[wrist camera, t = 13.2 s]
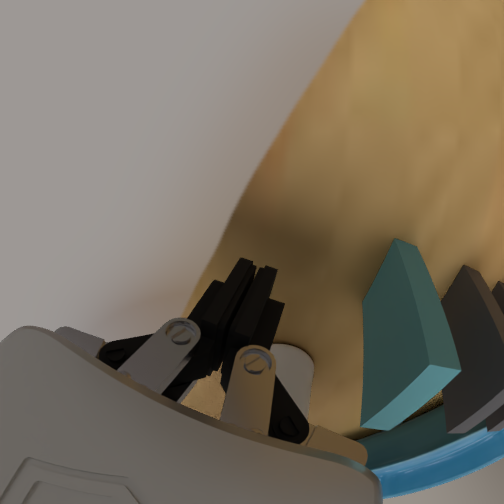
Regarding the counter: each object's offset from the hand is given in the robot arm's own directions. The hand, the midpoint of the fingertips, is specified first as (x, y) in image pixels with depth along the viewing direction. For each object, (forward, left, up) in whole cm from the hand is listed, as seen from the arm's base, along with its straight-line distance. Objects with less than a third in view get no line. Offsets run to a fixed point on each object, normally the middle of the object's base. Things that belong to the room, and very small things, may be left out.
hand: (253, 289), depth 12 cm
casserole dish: (-22, -28, -6) cm, 36 cm away
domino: (0, -13, -5) cm, 14 cm away
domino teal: (0, -7, -5) cm, 9 cm away
